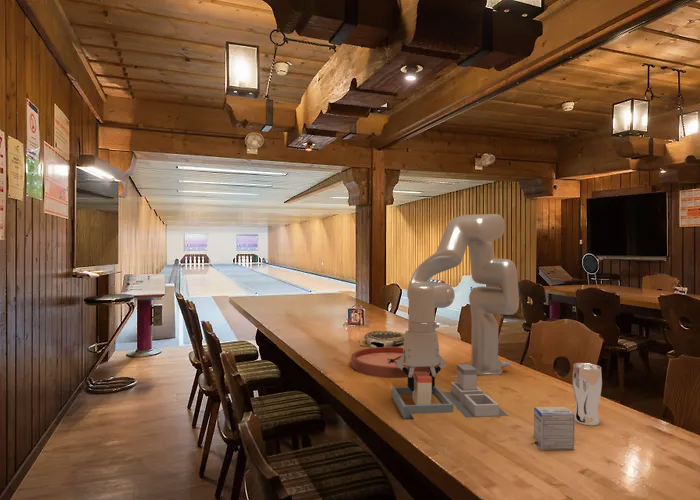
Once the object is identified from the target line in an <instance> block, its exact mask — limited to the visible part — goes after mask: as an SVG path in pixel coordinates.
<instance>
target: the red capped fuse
mask: <svg viewBox="0 0 700 500" xmlns="http://www.w3.org/2000/svg"><path fill="white" fill-rule="evenodd" d="M413 377H414V391H413V394H411V395H412V397H411V398H412V400H413V403H414V405H428V404H432V394H431V392H432V377H431V376H430V375H429V373H427V372H417V371H414V372H413Z"/></svg>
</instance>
